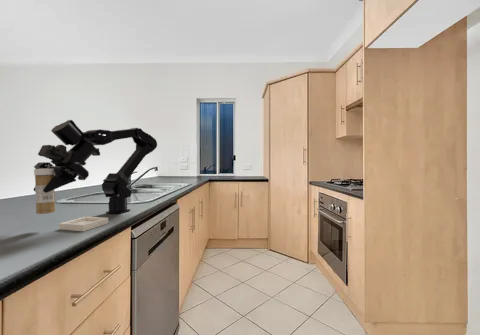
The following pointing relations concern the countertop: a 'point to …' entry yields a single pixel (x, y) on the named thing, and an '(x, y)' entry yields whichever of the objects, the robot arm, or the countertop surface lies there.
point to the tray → (83, 223)
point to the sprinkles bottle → (43, 200)
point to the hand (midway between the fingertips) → (39, 191)
